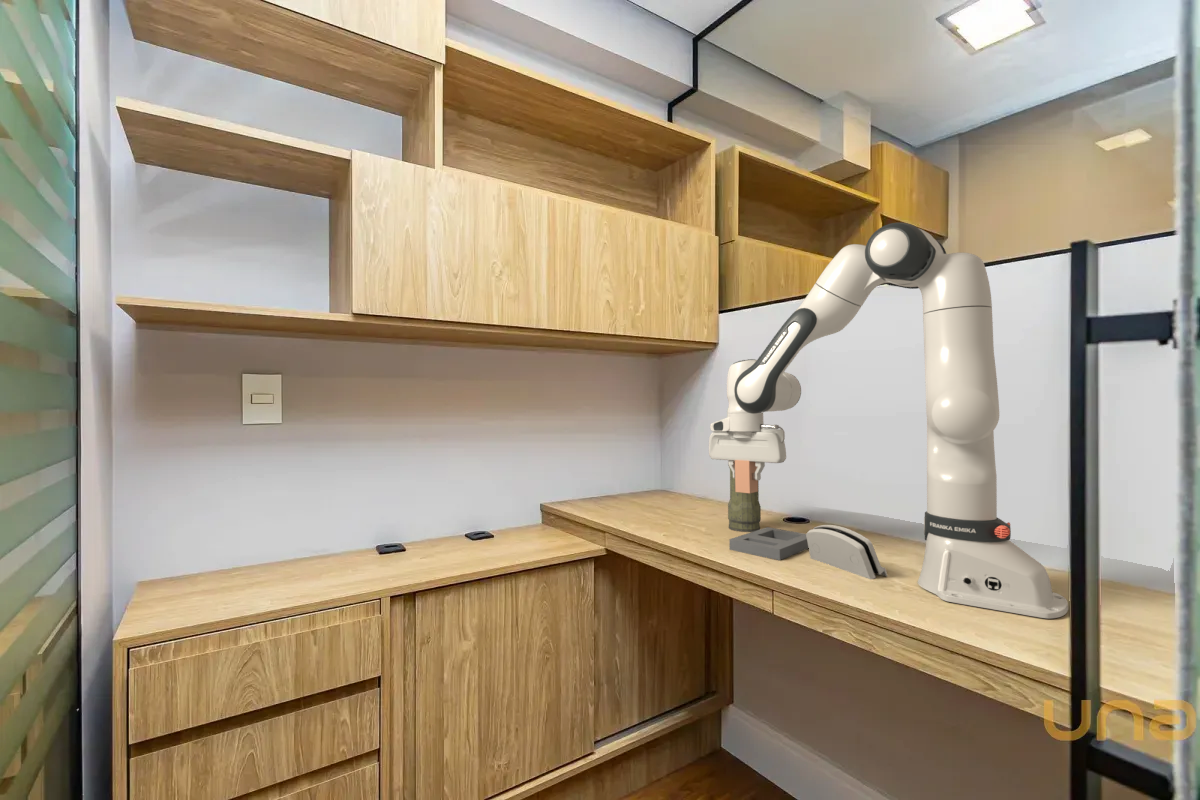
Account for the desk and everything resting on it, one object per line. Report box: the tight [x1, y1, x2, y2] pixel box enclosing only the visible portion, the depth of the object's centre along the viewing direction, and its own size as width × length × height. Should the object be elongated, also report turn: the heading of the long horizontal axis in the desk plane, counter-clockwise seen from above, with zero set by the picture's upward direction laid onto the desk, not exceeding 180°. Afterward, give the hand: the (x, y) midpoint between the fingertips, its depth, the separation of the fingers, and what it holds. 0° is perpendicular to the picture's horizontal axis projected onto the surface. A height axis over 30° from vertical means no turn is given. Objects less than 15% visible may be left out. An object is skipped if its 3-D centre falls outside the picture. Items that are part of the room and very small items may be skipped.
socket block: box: [729, 526, 809, 561], centre depth 134 cm, size 13×18×2 cm
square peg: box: [735, 460, 758, 493], centre depth 138 cm, size 4×4×8 cm
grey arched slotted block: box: [805, 524, 888, 580], centre depth 118 cm, size 17×5×10 cm, turn 23°
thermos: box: [727, 464, 762, 533], centre depth 155 cm, size 9×12×35 cm
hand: (746, 479), depth 138 cm, fingers closed on square peg, 4 cm apart
